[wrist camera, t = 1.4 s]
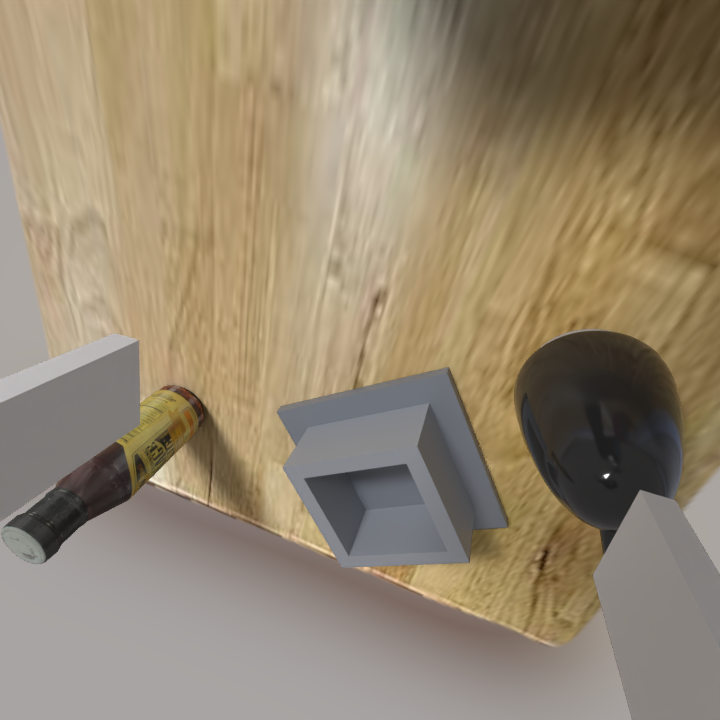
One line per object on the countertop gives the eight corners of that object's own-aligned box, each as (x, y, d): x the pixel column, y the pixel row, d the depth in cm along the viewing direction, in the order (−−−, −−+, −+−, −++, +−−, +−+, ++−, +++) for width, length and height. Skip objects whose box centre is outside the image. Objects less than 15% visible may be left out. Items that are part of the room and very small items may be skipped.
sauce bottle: (201, 436, 52) (56, 591, 36) (154, 409, 52) (-12, 551, 36) (214, 398, 49) (60, 550, 32) (164, 369, 49) (-16, 506, 32)
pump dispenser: (519, 425, 40) (521, 578, 27) (508, 316, 35) (505, 437, 23) (654, 423, 36) (731, 598, 23) (662, 301, 32) (761, 435, 19)
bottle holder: (281, 406, 47) (247, 450, 41) (448, 367, 39) (436, 414, 33) (351, 531, 53) (331, 584, 47) (507, 519, 45) (506, 581, 39)
